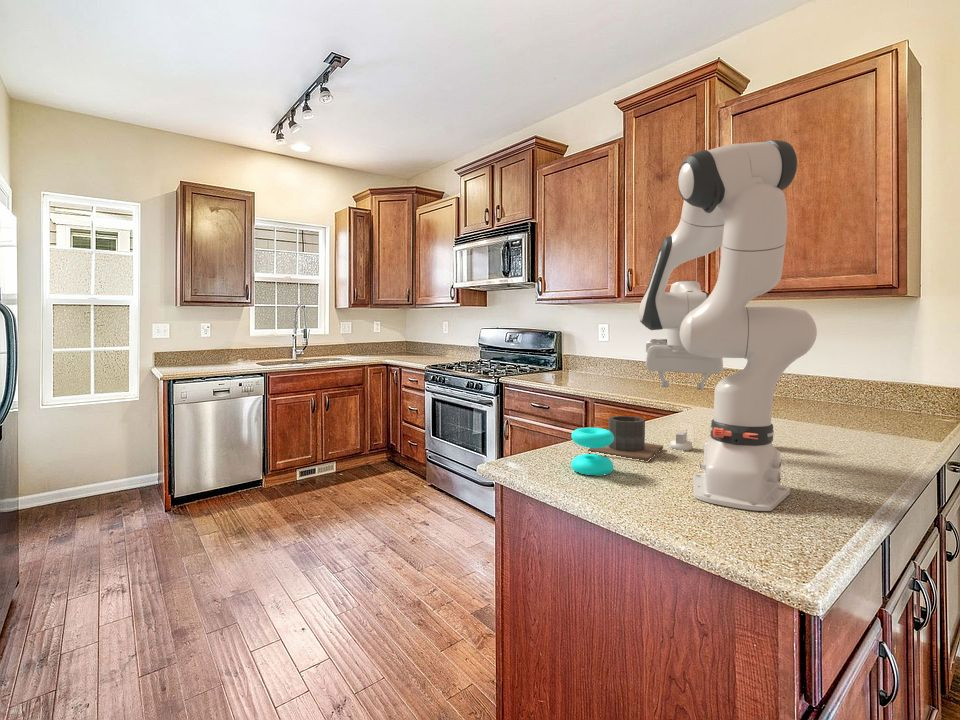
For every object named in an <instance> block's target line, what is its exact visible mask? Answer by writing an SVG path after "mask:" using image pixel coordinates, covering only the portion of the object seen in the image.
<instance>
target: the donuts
mask: <svg viewBox="0 0 960 720" xmlns="http://www.w3.org/2000/svg"><path fill="white" fill-rule="evenodd" d="M571 440H572V441H573V443H575V444H576V445H578V446H579V447H583V448H587V449H590V448H602V447H606V446H608V445H610V444H611V443H612V442H613V440H614V435H613V433H612V432H611V431H609V429H606V428H603V427H602V428H600V427H579V428H576V429H575V430H573V431H571ZM570 466H571V469H572V470H573V471H574V472H575V471H576V472H575V473H577V472H579V473H582V474H589V475H603V476H605V475H604V474H607V475H609V474H611V473H612V472H613V471H614V463H613V461H612V460H611V459H610V458H609V457H607V456H602V455H597V454H588V453H584V454H579V455H577V456H574V458H573V459H572V461H571V463H570ZM579 473H578V474H579ZM608 473H609V474H608ZM582 474H581V475H582Z"/></svg>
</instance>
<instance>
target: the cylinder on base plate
mask: <svg viewBox="0 0 960 720" xmlns="http://www.w3.org/2000/svg"><path fill="white" fill-rule="evenodd" d="M608 430H609V431H611V432H612V433H613V435H614V440H613V442H612V443H611V444H610V445H608V446H606V447H602V448H587V452H588V451H591V452H599V453H604V454H610V455H616V456H621V457H626V458H632V459H639V460H644V461H648V460H649V459H650V458H652V457H653V456H654V455H656V454H657V453H658V452H659V451H661V450H662V449H663V450H664V445H663V444H655V443H648V442H646V440H645V437H646V419H645V418H643V417H639V416H633V415H632V416H631V415H615V416H614V415H612V416H610V417H609V418H608ZM663 450H662V451H663ZM662 451H661V452H662ZM659 453H660V452H659ZM659 453H658V454H659ZM658 454H657V455H658ZM657 455H656V456H657ZM653 458H654V457H653ZM653 458H652V459H653ZM648 462H649V461H648Z"/></svg>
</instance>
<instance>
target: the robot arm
mask: <svg viewBox="0 0 960 720" xmlns="http://www.w3.org/2000/svg"><path fill="white" fill-rule="evenodd" d="M797 169H798V158H797V153H796V150H795V149H794V147H793V146H792V144H790V142H788V141H784V140H779V139H768V140H765V141H761V142H760V141H759V142H757V141H756V142H755V141H754V142H745V143H732V144H727V145H721V146H719V147H713V148H710V149H708V150H706V149H703V150H700V151H697V152H693V153H692V154H690V155H688V156H686V157H685V158H684V160H683V161H682V163H681V164H680V167H679V170H678V174H677V175H678V176H677V187H678V191H679V192H678V193H679V194H680V197H681V198H682V199H683V203H682V209H681V215H680V220H679V223H678V224H677V227H676V228H675V230H674V231H673V232H672V233H671V234H670V235H669V236H666V237H665V238H664V239H663V241H662V243H661V245H660V246H659V249H658V252H657V255H656V257H655V261H654V263H653V264H654V265H653V267H652V271H651V273H650V277H649V280H648V283H647V287H646V289H645V293H644V294H643V296H642V299H641V301H640V305H639V306H638V307H639V308H638V317H639V322H640V324H642V325H643V326H644V327H645V328H646V329H648V330H650V331H657V330H658V331H659V330H665V329H666V332H667V333H666V336H667V337H666V338H660V339H659V338H658V339H657V338H652V339H651V340H649V341H647V342H646V344H645V352H646V356H645V357H646V359H645V368H646V370H647V371H649V372H657V375H658V377H659V379H660V381H661V388H669V382H670V380H666V378H665V375H666V373H667V372H668V373H670V372H671V373H685V374H686V373H687V374H701V378H702V380H701V381H700V382H697V383H696V386H697V387H696V389H697V390H699V391H703V390H704V389H705V383H706V382H707V380H708V378H709V376H710V375H719V374H721V373H723V370H724V361H723V360H724V358H725V359H746V360H747V362H746V365H745V367H744V368H743V369H741V370H740V371H738V372H735V373H732V374H730V375H728V376H726V377H723V378H722V379H720V380H719V381H718V383H717V384H716V386H715V387H714V393H713V394H714V396H713V419H712V420H711V424H710V428H709V430H710V433H709V434H710V435H709V436H710V439H709V440H707V441H706V442H705V443H704V453H703V454H704V457H703V462H701V463H700V464H699V465H700V466H699V467H700V469H701V470H703V472H698V473H696V472H695V473H694V474H693V475H692V493H693V494H692V495H693V498H694V499H697V500H700V501H702V502H706V503H710V504H715V505H719V506H724V507H728V508H729V507H730V508H734V509H739V510H748V511H757V512H759V511H760V512H772V511H773V510H774V509H775V508H777V507H778V506H779V505H780V504H781V503H782V502H783V501H784V500H785V499H786V498H787V497H788V496H789V495H791V488H790V487H788V486H786V485H782V484H781V480H782V478H781V467H782V462H781V452H780V451H779V450H778V449H777V448H776V447H775V446H774V445H773V441H774V435H775V431H774V425H773V423H772V411H773V401H774V394H775V390H776V386H777V384H778V381H779V380H780V378H781V376H782V375H783V373H784V372H785V371H786V369H787V368H788V367H790V365H792V364H793V363H794V362H796V360H799V358H801V357H804V356H805V355H806V354H808V352H809V351H810V350H811V349H812V348H813V346H814V344H815V342H816V339H817V333H818V329H817V325H816V322H815V320H814V318H813V317H812V315H811V314H810V313H809V312H807V311H806V310H804V309H799V308H793V307H788V306H787V307H786V306H785V307H784V306H746V305H748V304H749V302H751V301H752V300H753V299H755V298H757V297H759V296H761V295H764V294H766V293H768V292H770V291H771V290H772V289H774V288H775V287H776V286H777V285H778V284H779V283H780V282H781V281H780V280H781V279H782V275H783V268H784V259H785V251H786V243H787V232H788V212H787V211H788V210H787V208H788V207H787V201H786V195H785V193H784V192H783V191H784V190H786V189H787V188H788V187H789V186H790V185H791V184H792V182H793V180H794V178H795V176H796V174H797ZM720 247H721V252H720V253H721V254H720V264H719V270H718V275H717V276H718V277H717V279H716V282H715V284H714V287H713V289H712V291H711V293H710V294H708V293H707V292H703V291H702V289H701V284H700V282H699V281H696V280H691V279H690V280H688V279H687V280H686V279H685V280H679V281H676V282H673V283H672V284H671V285H670V289H669V292H668V291H667V292H666V288H667V286H668V282H669V280H670V277H671V274H672V272H673V271H674V270H675V269H676V268H678V266H681V265H682V264H684V263H687V262H689V261H692V260H694V259H699V258H701V257H705V256H707V255H709V254H711V253H713V252H715V251H717V250H718V249H720Z"/></svg>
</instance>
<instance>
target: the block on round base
mask: <svg viewBox="0 0 960 720" xmlns="http://www.w3.org/2000/svg"><path fill="white" fill-rule="evenodd" d="M687 434H688V432H687V431H681V430H680V431H678V432H677V433H676V434H675V439H672V440H670V444H669V448H670V449H671V448H672V449H671V450H673V449H676V450H675V451H677V450H683V451H682V452H689V451H688V450H691V451H692V450H693V442H692V441H689V440H688V439H687V438H688V437H687Z"/></svg>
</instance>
